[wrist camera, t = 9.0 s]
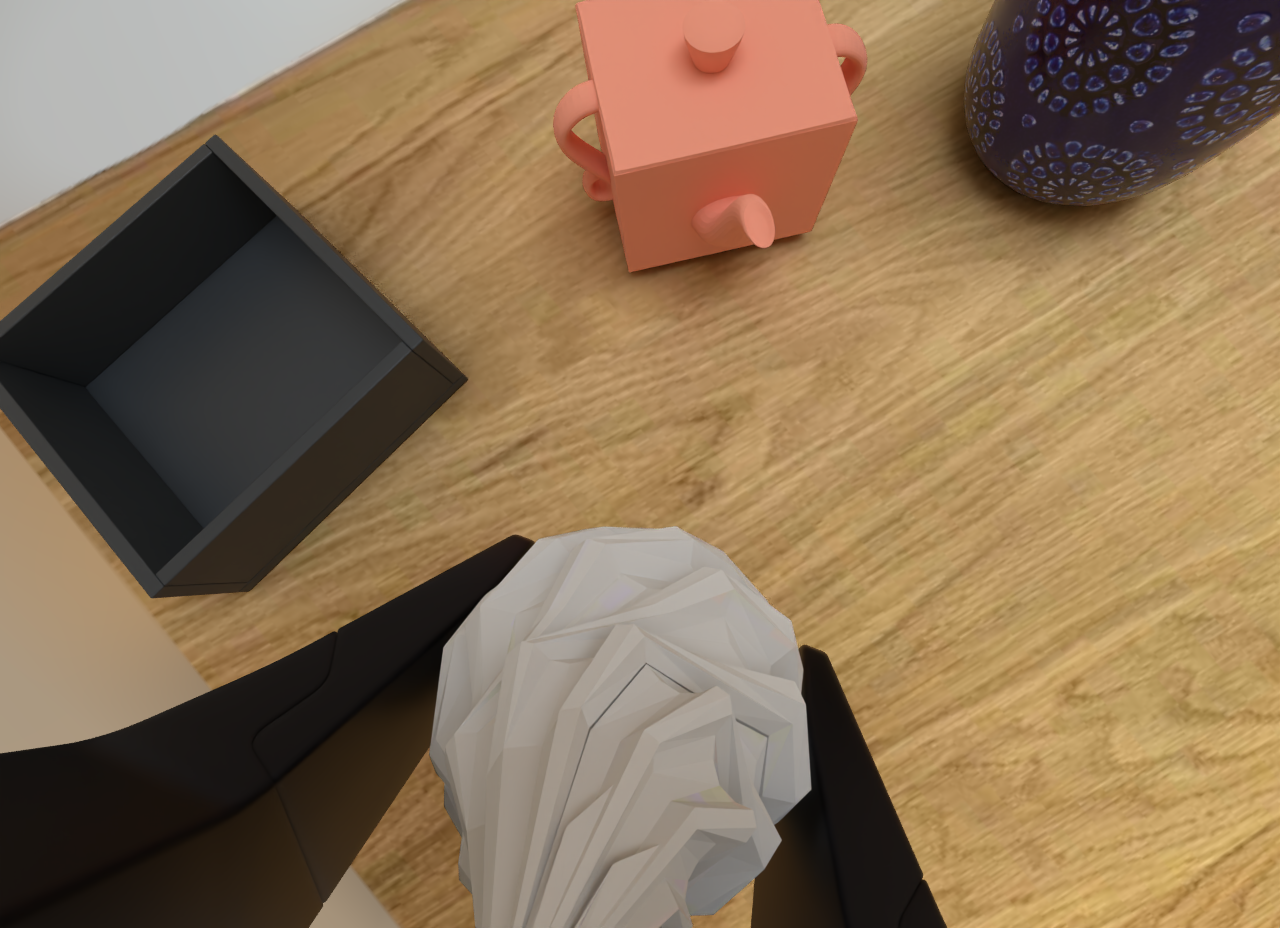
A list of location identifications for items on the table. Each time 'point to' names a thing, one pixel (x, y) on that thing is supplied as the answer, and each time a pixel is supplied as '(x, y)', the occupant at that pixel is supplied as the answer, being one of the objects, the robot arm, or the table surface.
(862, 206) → the table surface
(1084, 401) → the table surface
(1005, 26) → the planter
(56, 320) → the storage bin
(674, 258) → the teapot
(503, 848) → the ice cream cone
